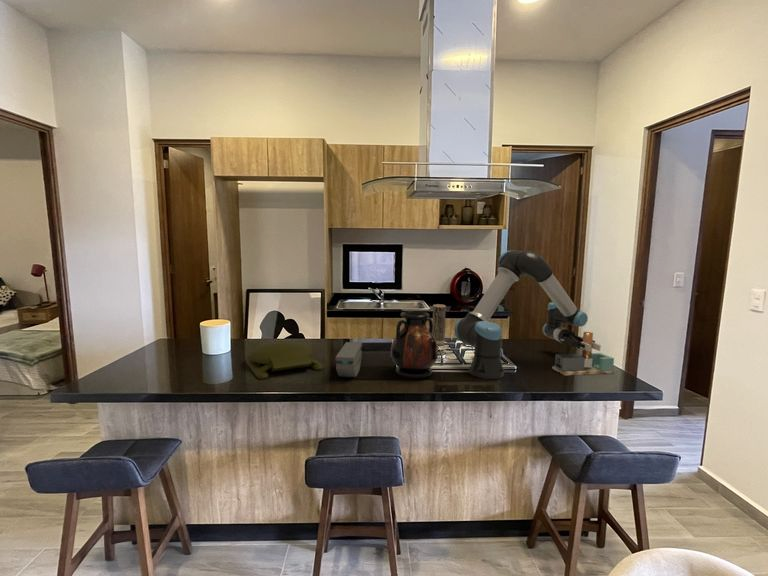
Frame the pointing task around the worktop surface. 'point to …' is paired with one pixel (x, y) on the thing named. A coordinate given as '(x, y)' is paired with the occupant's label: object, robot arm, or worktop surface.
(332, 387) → the worktop surface
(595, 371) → the base board
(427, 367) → the amphora vase
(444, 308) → the wooden log
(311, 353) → the olive folded cloth
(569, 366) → the sleeve
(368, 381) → the worktop surface
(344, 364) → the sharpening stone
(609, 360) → the socket
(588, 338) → the slip bolt
